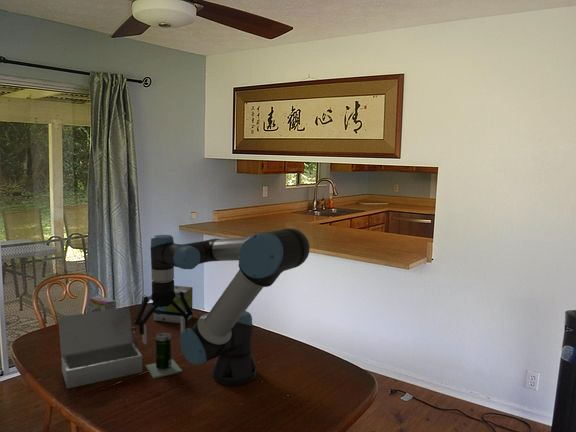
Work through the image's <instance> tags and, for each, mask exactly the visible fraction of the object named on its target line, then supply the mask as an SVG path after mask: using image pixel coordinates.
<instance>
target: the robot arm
mask: <svg viewBox="0 0 576 432" xmlns="http://www.w3.org/2000/svg"><path fill="white" fill-rule="evenodd" d="M149 249H150V263H151V264H150V266H151V267H150V268H151V269H150V270H151V272H150V273H151V280H152V281H151V295H146V294H144V295H142V298H141V302H140V306H139V308H138V310H137V312H136V314H135V316H134V318H133V320H132V323H133V324H134V325H135V326H138V330H139V332H138V333H139V335H142V339H141V340H142V343H143V345H147V343H148V342H147V341H148V339H147V336H148V335H147V324H146V322H147V321H148V320H149V319H150V317H151V316H152V314H154V311H155V310H156V309H157V307H164V306H169V305H170V304H171V305H172V306H173V307H174V308H175V309H176V310H177V311H178V312H179V313H180V314H181V315H183V317H180V319H181V323H180V336H179V345H180V349H181V352H182V354H183V356H184V358H185V359H186V360H187V361H188V362H189V363H190V364H192V365H194V366H199V365H201V364H206V363H207V362H209V361H211V360H213V359H215V361H214V364H213V367H212V379H213V380H214V382H217V383H218V384H221V385H225V386H232V387H233V386H242V385H247V384H248V383H251V382H253V381H254V380H255V379H256V377H257V366H256V364H255V360H254V357H253V354H252V352H253V351H252V350H253V349H252V348H253V347H252V345H253V325H254V324H253V316H252V314H251V313H250V312H249V311H247V309H248V308H249V306H250V305H251V304H252V303H253V301H254V300H255V299H256V298H257V296H258V295H259V294H260V292H261V291H262V290H263V288H268V287H271V286H272V285H273V284H274V283H275V281H277V279H278V278H279V276H280V275H281V274H282V273H283V272H285V271H288V270H292V269H295V268H297V267H300V266H301V265H303V264H304V263H305V262H306V260H307V259H308V258H309V255H310V250H311V249H310V242H309V240H308V238H307V236H306V235H305V234H304V232H302V231H301V230H298V229H296V228H283V229H278V230H272V231H262V232H257V233H255V234H252V235H250V236H246V237H233V238H232V237H231V238H210V239H208V240H207V239H205V240H202V241H195V242H188V243H183V244H182V243H181V244H180V243H176V242H175V241H174V237H173V236H172V235H170V234H157V235H154V236H152V237H151V238H150V248H149ZM223 261H224V262H225V261H227V262H230V261H232V262H233V261H238V271H237V272H236V274H235V275H234V277H233V278H232V280H231V281H230V282H229V284H228V285H227V287H226V288H225V289H224V290H223V292H222V294H221V296H220V297H219V298H218V299H217V300H216V302H215V303H214V305H213V306H212V308H211V309H210V311H209V312H206V313H204V314H202V315H201V316H200V317H198V320H197V321H196V322H195V323H194V324H193V326H191V327H188V323H189V322H188V321H189V320H188V318H189V316H190V315H192V316H193V314H194V313H193V310H192V311H191V309H190V307H189V306H188V304H187V302H186V300H185V298H184V293H183V292H182V291H181V290H179V291H178V292H174V285H175V280H174V278H175V268H179V269H182V270H193V269H195V268H196V267H197V266H199V265H200V264H204V263H209V262H223ZM175 296H177V297H178V298H179V299H180V301H181V302H182V304H183V306H184V308H185V310H186V311H187V312H186V313H185V312H184V311H183V310H182V309H181V308H180V307H179V306H178V305H177V304H176V303H175V302H174V301H173V300H174V298H175ZM150 301H152V302H151V303H150ZM148 303H150V306H149V307H148V308H147V306H148ZM146 308H147V310H146ZM145 311H146V312H145ZM144 312H145V313H144ZM186 327H187V328H186Z"/></svg>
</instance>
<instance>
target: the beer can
mask: <svg viewBox="0 0 576 432" xmlns="http://www.w3.org/2000/svg"><path fill="white" fill-rule="evenodd" d="M155 363H156V368H157V370H160V371H165V370H169V369H170V368H171V365H172V334H171V333H169V332H159V333H158V334H156V335H155Z"/></svg>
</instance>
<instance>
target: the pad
mask: <svg viewBox="0 0 576 432" xmlns="http://www.w3.org/2000/svg"><path fill="white" fill-rule="evenodd" d="M145 368H146V370H147V371H148V373H149V375H151V377H152V378H153V379H154V380H155V379H159V378H161V377H165V376H171V375H175V374H180V373H182V372H183V369H182V368H181V367H180V366H179V365H178V364H177V362H176V361H175V360H174V359H172V365H171V368H170V369H169V370H165V371H160V370H157V368H156V362H154V363H150V364H145Z"/></svg>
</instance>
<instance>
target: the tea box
mask: <svg viewBox="0 0 576 432" xmlns="http://www.w3.org/2000/svg"><path fill="white" fill-rule="evenodd" d="M193 289H194V288H193V286H184V285H183V286H182V285H175V284H174V292H178V291H179V290H181V291H182V292H183V293H184V298H185V300H186V302H187V304H188V306H189V307H190V309H191V311H192V312H193ZM173 301H174V302H175V303H176V304H177V305H178V306H179V307H180V308H181V309H182V310H183V311H184V312H185V313H186V312H187V311H186V310H185V308H184V306H183V304H182V302H181V301H180V299H179V298H178V297H177V296H175V298H174V300H173ZM180 317H183V315H181V314H180V313H179V312H178V311H177V310H176V309H175V308H174V307H173V306H172V305H171V304H170V305H169V306H164V307H157V309H156V310H155V311H154V312H153V320H154V321H155V322H157V321H158V322H165V323H166V322H168V323H176V324H181V319H180ZM192 317H193V315H190V316H189V318H188V321H189V320H190V319H191V318H192Z"/></svg>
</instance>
